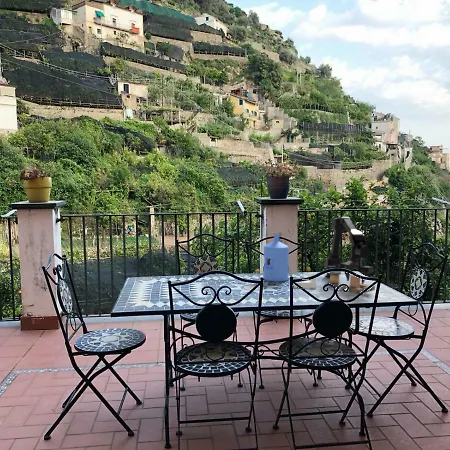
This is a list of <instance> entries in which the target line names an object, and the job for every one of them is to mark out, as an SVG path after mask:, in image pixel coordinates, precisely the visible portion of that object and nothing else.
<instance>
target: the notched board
mask: <svg viewBox="0 0 450 450" xmlns="http://www.w3.org/2000/svg"><path fill="white" fill-rule="evenodd" d="M369 285H370V284H368V283H363V284H362V282H360V288H357V287H352V286H350V285H347V286H348V287H349V292H348V293H354V294H359V293H360V292H361V291H363V290H364V289H366V288H367V287H368V286H369ZM342 286H343V287H341V286H340V291H344V290H343V289H346V288H347V287H346V286H344V285H342ZM375 286H376V285H374V286H373V287H372V288H371V289H374V290H375V289H376V287H375ZM360 294H361V293H360ZM360 294H359V295H360Z"/></svg>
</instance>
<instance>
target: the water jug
mask: <svg viewBox="0 0 450 450" xmlns="http://www.w3.org/2000/svg"><path fill="white" fill-rule="evenodd" d="M273 236H274V237H273V241H271V242H270V243H269V242H268V243H267V244H265V245H264V246H263V257H264V261H263V262H264V267H263V274H262V278H263V280H265V281H267V282H275V283H278V282H280V283H281V282H287V281H288V279H289V266H290V265H289V264H290V263H289V257H290V255H289V253H290V249H289V246H288V245H286V244H285V243H284V242H281V241H280V234H273ZM268 259H269V265H268Z"/></svg>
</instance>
